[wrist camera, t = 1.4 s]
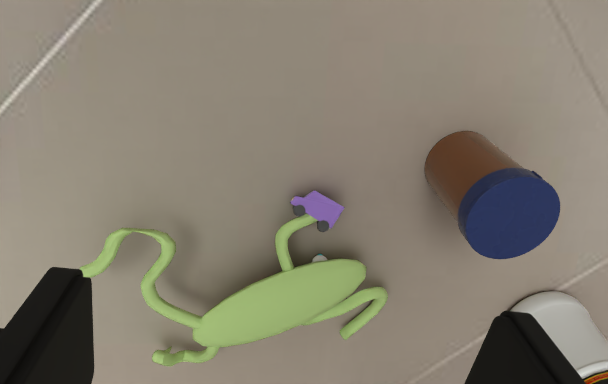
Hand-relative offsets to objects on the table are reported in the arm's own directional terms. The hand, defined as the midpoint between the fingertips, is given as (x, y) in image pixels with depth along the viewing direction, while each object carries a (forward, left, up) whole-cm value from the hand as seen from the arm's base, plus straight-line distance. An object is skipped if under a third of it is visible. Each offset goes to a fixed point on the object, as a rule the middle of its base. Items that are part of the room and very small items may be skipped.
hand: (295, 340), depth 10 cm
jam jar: (0, +19, -28) cm, 34 cm away
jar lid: (0, +19, -19) cm, 27 cm away
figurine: (+19, +6, -28) cm, 35 cm away
